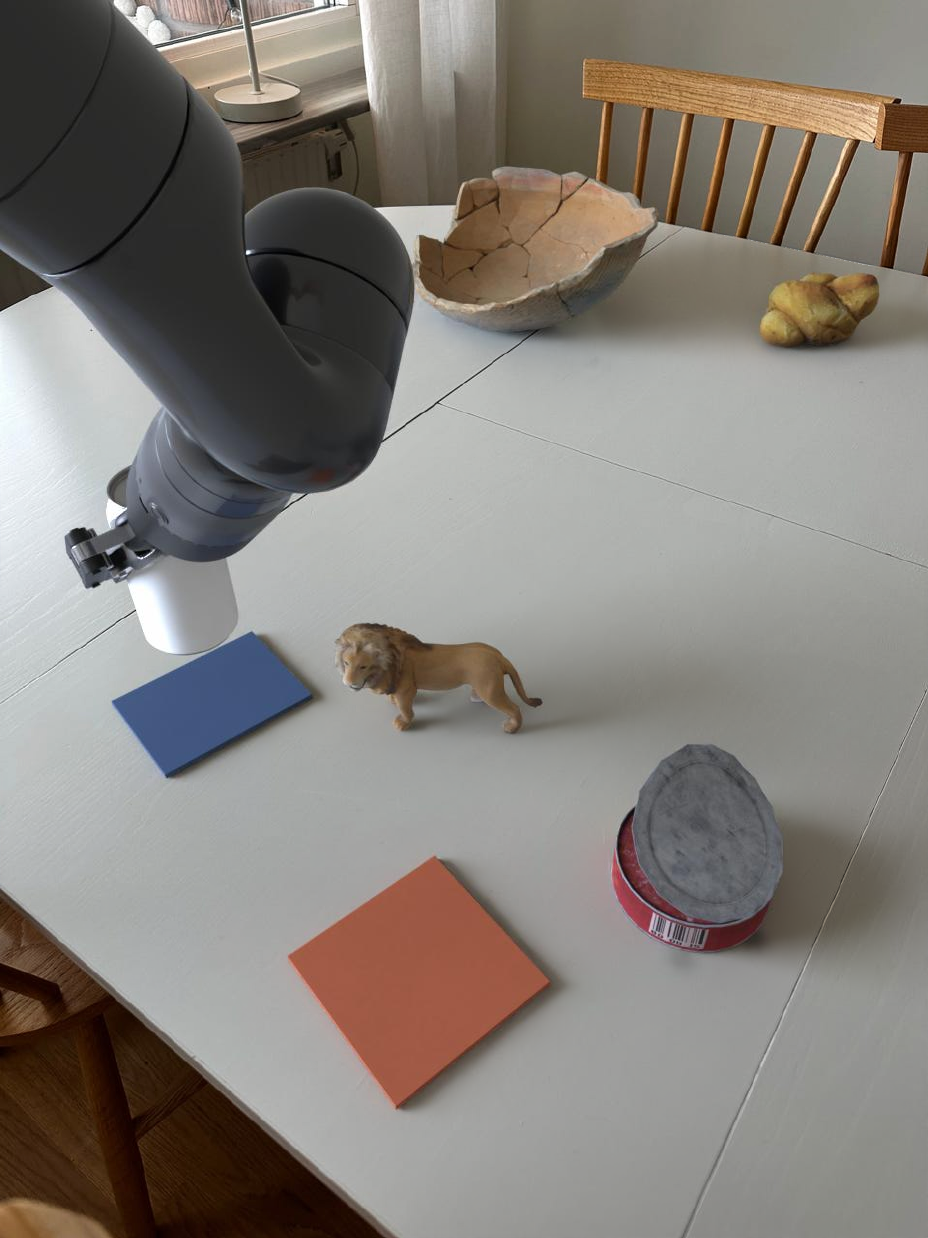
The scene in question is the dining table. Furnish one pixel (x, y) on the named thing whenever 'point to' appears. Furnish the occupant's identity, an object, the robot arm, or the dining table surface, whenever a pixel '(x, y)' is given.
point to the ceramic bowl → (531, 249)
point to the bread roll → (818, 309)
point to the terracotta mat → (417, 978)
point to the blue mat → (210, 702)
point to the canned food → (698, 852)
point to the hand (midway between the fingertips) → (162, 545)
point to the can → (179, 594)
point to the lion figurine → (425, 670)
